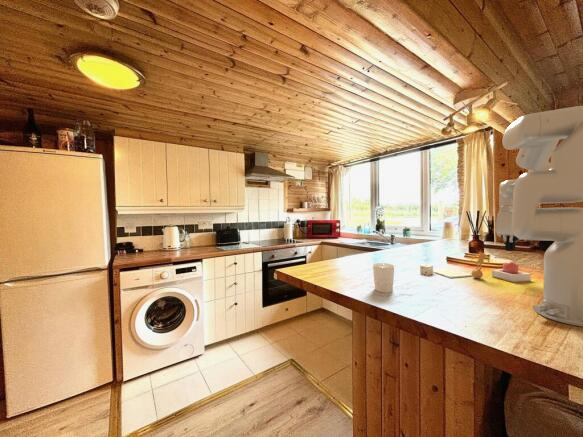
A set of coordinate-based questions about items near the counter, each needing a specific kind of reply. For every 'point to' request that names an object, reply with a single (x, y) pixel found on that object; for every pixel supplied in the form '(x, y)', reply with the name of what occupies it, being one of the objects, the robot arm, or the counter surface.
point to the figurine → (477, 272)
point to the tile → (451, 273)
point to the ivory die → (426, 269)
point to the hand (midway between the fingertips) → (510, 250)
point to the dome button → (510, 268)
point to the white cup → (383, 277)
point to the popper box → (511, 276)
